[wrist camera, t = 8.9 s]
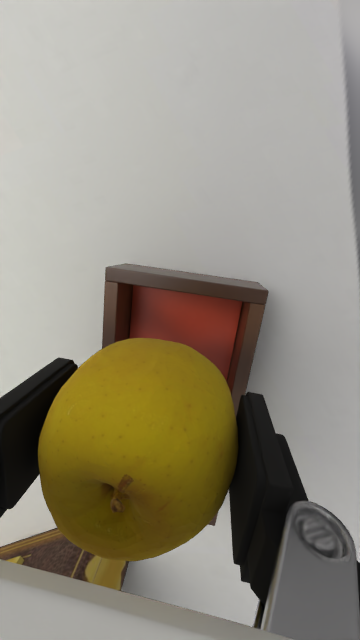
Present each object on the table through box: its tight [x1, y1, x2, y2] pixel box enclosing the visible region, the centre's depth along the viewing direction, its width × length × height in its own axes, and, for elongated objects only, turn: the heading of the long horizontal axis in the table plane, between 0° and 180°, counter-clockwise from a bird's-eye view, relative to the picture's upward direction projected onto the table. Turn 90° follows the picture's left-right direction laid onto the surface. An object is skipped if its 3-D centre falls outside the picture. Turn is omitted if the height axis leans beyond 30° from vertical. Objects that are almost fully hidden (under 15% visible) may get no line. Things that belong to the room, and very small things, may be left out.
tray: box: [102, 264, 268, 526], centre depth 18 cm, size 17×9×3 cm, turn 173°
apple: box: [38, 338, 239, 561], centre depth 9 cm, size 6×6×8 cm
